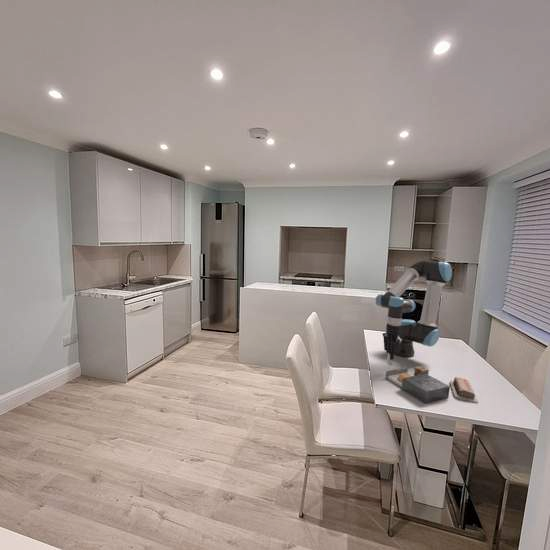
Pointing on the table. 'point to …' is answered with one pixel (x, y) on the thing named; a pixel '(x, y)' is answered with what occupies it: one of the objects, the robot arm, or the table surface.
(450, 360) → the table surface
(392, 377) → the tray
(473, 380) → the table surface
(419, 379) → the housing
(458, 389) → the packaged product
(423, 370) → the block
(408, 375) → the orange dome cap
